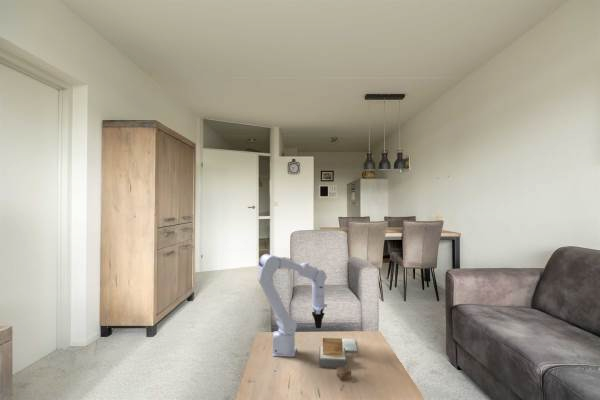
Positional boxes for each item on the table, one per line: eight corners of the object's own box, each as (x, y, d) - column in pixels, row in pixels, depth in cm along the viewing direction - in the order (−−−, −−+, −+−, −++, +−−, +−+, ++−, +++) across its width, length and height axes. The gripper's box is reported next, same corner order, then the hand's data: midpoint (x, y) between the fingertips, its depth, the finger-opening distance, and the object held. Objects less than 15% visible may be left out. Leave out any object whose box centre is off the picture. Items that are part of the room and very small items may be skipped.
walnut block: (341, 381, 109) (341, 373, 110) (337, 375, 113) (337, 367, 113) (351, 379, 111) (351, 371, 111) (346, 374, 114) (346, 366, 114)
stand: (319, 367, 119) (318, 358, 119) (319, 354, 130) (319, 346, 130) (346, 368, 118) (346, 359, 118) (345, 354, 129) (344, 346, 129)
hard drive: (357, 350, 131) (355, 338, 143) (338, 349, 132) (337, 337, 144) (357, 354, 131) (355, 342, 143) (338, 353, 132) (337, 341, 144)
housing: (322, 354, 123) (322, 342, 123) (322, 350, 127) (322, 337, 127) (342, 355, 122) (342, 342, 122) (341, 350, 126) (341, 338, 126)
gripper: (327, 299, 132) (327, 331, 131) (326, 291, 146) (327, 319, 146) (311, 299, 133) (311, 330, 132) (312, 290, 147) (312, 319, 146)
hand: (318, 324), depth 139 cm, fingers open, 7 cm apart
